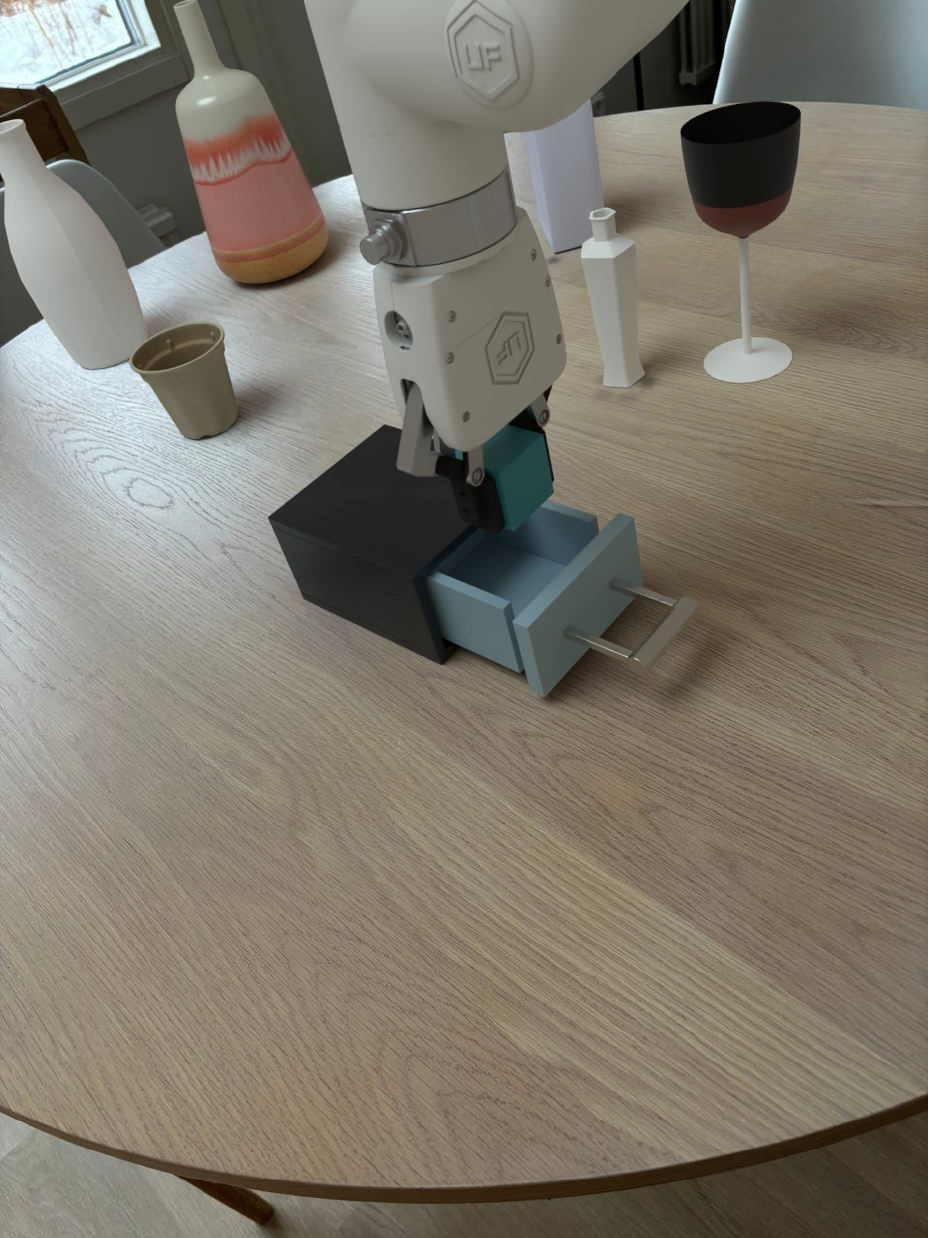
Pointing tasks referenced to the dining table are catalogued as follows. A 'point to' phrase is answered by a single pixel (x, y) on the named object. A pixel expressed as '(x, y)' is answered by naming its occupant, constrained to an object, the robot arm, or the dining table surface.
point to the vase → (244, 168)
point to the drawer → (549, 594)
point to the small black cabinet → (374, 542)
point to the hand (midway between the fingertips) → (507, 499)
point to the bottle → (67, 258)
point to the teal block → (517, 472)
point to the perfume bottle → (613, 298)
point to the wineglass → (743, 206)
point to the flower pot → (189, 377)
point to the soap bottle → (566, 178)
